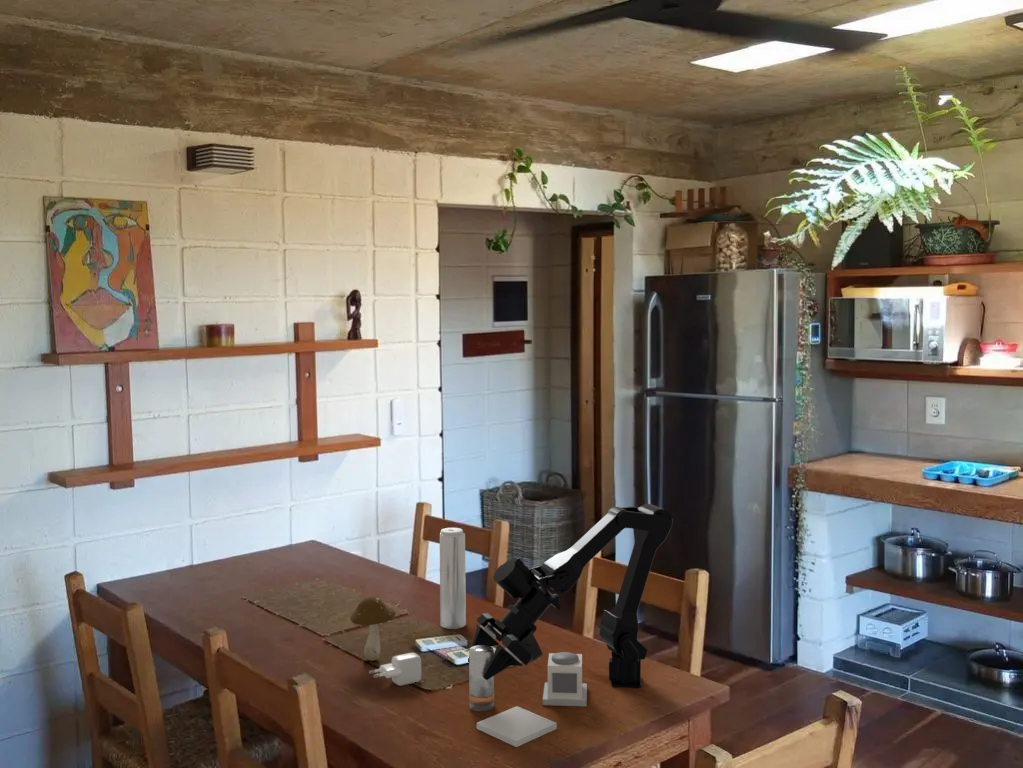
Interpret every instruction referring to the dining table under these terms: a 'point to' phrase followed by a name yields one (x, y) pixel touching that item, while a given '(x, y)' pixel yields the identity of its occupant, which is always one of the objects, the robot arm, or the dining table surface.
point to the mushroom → (372, 622)
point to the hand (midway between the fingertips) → (476, 670)
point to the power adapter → (401, 669)
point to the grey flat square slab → (516, 726)
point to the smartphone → (444, 651)
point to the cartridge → (480, 678)
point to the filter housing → (565, 680)
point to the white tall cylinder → (452, 578)
